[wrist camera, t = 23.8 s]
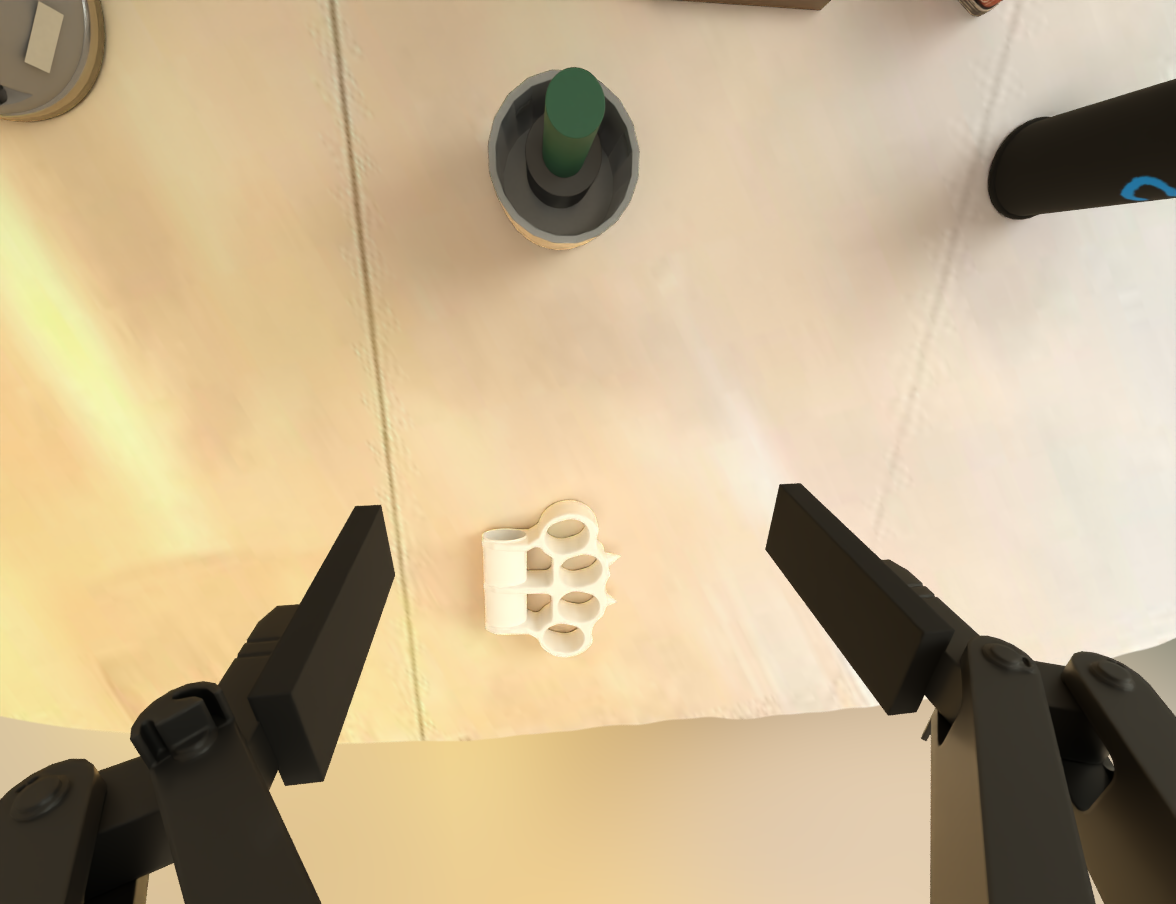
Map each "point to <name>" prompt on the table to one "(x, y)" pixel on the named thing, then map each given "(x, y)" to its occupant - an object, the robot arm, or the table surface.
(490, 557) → the knuckle duster
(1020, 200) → the aerosol can
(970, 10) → the lighter
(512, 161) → the steel cup
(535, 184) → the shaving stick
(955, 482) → the table surface
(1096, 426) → the table surface
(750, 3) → the stand
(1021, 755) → the robot arm
